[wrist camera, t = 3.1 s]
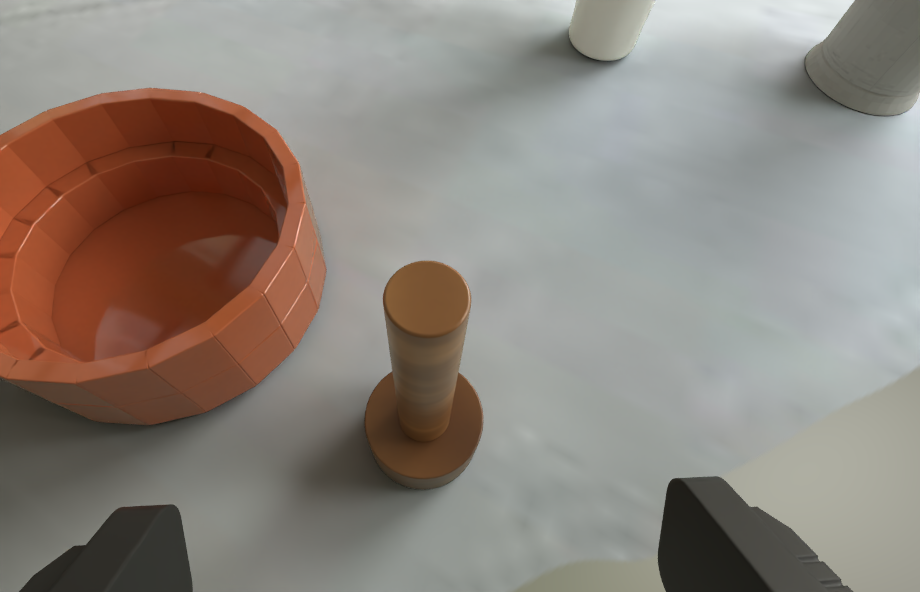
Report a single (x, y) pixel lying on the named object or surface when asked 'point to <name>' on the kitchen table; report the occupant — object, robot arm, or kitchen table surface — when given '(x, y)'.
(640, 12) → the drinking glass
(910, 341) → the kitchen table surface
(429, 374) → the wooden knob stand
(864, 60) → the pitcher
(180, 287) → the bowl
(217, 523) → the kitchen table surface
